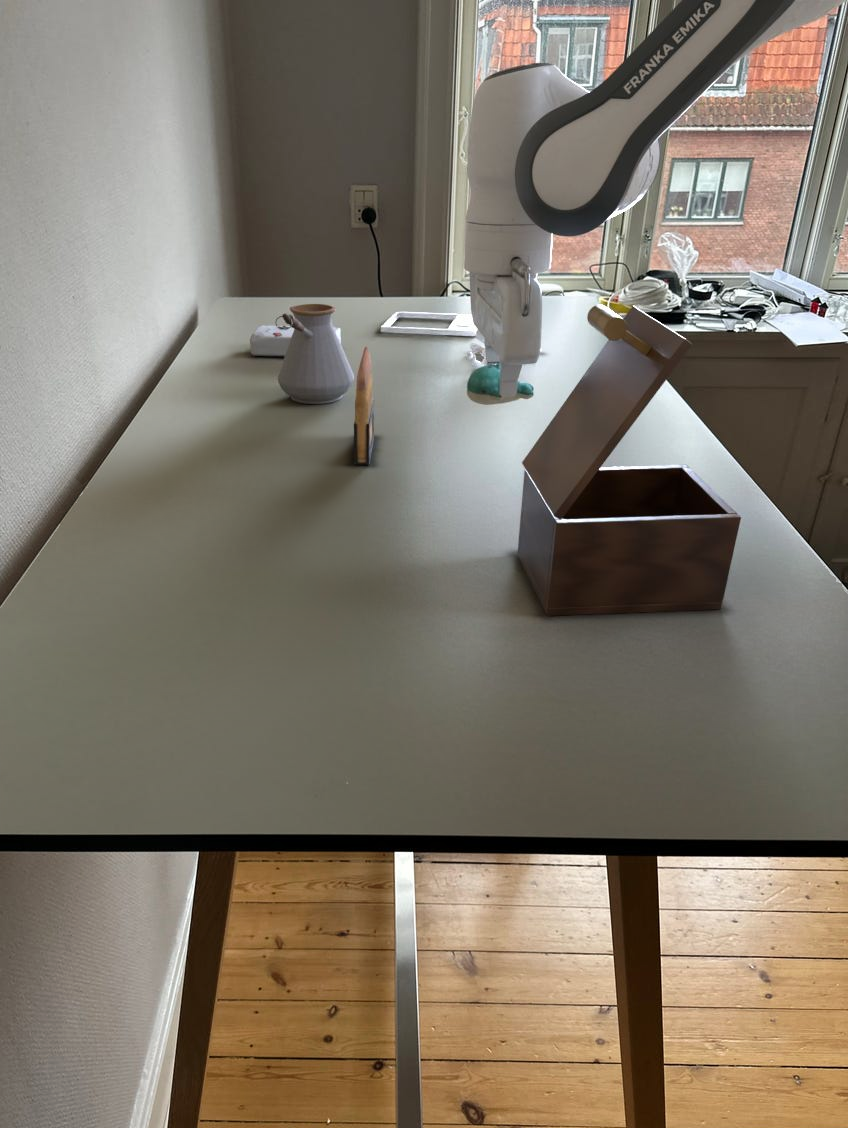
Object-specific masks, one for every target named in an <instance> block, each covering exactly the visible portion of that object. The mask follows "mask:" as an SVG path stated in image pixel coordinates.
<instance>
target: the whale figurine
mask: <svg viewBox="0 0 848 1128" xmlns="http://www.w3.org/2000/svg"><path fill="white" fill-rule="evenodd" d="M498 377H500V370H498V369H497V368H495V367H492V366H483V367H480V368H478V369H475V370H474V371H473V372H472V373H471V374H470V375H469V378H468V380H467V384H466V394H467V397H468V399H469V400H471V401H472V402H473V403H475V404H478V405H483V406H492V405H493V406H494V405H500V404H501V405H502V404H506V403H511V402H516V401H518V400H520V399H523V400H529V399H531V398H533V397H534V395H535V394H534V390H535V389H534V386H533V385H532V384H531V383H529V382H521V381H519V380H518V381H517V393H516V395H515V396H514V397H502V396H501V395H500V394H499V392H498Z"/></svg>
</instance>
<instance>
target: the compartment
mask: <svg viewBox="0 0 848 1128" xmlns="http://www.w3.org/2000/svg"><path fill="white" fill-rule="evenodd" d="M523 472H524V473H523V484H522V496H521V506H520V517H519V518H520V519H519V531H518V541H517V542H518V543H517V556H518V558H519V560H520V563H521V564H522V567H523V569H524V571H525V573H526V575H527V578H528V579H529V582H530V584H531V585H532V588H533V590H534V591H535V594H536V596H537V598H538V600H539V602H540V604H541V606H542V608H543V611H544V613H545V615H546V616H547V617H555V616H580V615H604V614H632V613H656V612H659V613H660V612H684V611H685V612H686V611H710V610H712V611H713V610H722V608H723V603H724V598H725V593H726V589H727V584H728V579H729V574H730V571H731V570H730V569H731V565H732V561H733V556H734V551H735V547H736V543H737V538H738V533H739V528H740V524H741V519H742V517H741V516H740V514H739V513H738V512H737V511H736V510H735V509H733V508H732V506H730V505H729V503H727V502H726V501H725V500H724V499H723V498H722V497H721V496H720V495H719V494H717V492H716V491H715V490H714V489H712V488H711V486H709V484H707V483H706V482H705V481H704V479H702V478H701V477H700V476H699V475H698V474H697V473H696V472H695V471H693V470H692V468H691V467H689V465H687V464H670V465H668V464H666V465H665V464H664V465H634V466H633V465H632V466H630V465H629V466H601V467H600V469H599V470H598V471H597V473H596V474H595V475H594V477H593V478H592V479H591V481H590V482H589V483H588V485H587V486H586V487H585V489H584V490H583V491H582V493H581V494H580V495H579V497H578V498H577V499H576V501H575V502H574V503H573V505H572V506H571V507H570V509H569V510H568V511H567V513H566V514H565V515H564V517H563V518H562V519H561V520H560V519H558V518H557V517H555V516H554V515H553V514H552V512H551V510H550V509H549V507H548V505H547V504H546V502H545V500H544V499H543V497H542V495H541V494H540V492H539V490H538V489H537V487H536V485H535V484H534V482H533V481H532V479H531V477H530V476H529V474H528V472H527V471H526V469H524V471H523Z"/></svg>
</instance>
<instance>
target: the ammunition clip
mask: <svg viewBox="0 0 848 1128" xmlns="http://www.w3.org/2000/svg"><path fill="white" fill-rule="evenodd" d="M356 375H357V376H356V389H355V390H356V391H355V400H354V423H353V465H356V466H359V465H361V466H370V463H371V457H372V452H373V447H374V440H375V401H374V383H373V375H372V362H371V355H370V350H369V348H368V346H365V347H364V348H363V352H362V356H361V359H360V363H359V367H358V370H357V374H356Z"/></svg>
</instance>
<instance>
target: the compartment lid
mask: <svg viewBox="0 0 848 1128" xmlns="http://www.w3.org/2000/svg"><path fill="white" fill-rule="evenodd" d="M586 318H587V322H588V324H589V325H590V326H591V327H592V328H594V330H596V331H597V332H599V333H600V334H601V335H602V336H604V337H605V338H606V339H607V341H606V342H605V344H604V346H603V347H602V348H601V350H600V351H599V353H598V354H597V356H596V357H595V359H594V360H593V361H592V363H591V364H590V365H589V367H587V369H586V371H585V373H584V374H583V375H582V377H581V378H580V379H579V381H578V382H577V384H576V385H575V387H574V388H573V389H572V390H571V392H570V394H569V395H568V396H567V398H566V400H565V401H564V402H563V403H562V405H561V407H560V408H559V409H558V411H557V413H556V414H555V415H554V417H553V418H552V419H551V420H550V422H549V423H548V425H547V426H546V427H545V429H544V430H543V432H542V433H541V434H540V436H539V438H538V439H537V440H536V442H535V443H534V445H532V447H531V449H530V450H529V451H528V453H527V455H526V456H525V457H524V459H523V460H522V462H521V464H522V465H523V468H524V470H526V471H527V472H528V474H529V476H530V477H531V479H532V481H533V482H534V484H535V485H536V487H537V489H538V490H539V492H540V494H541V495H542V497H543V499H544V500H545V502H546V504H547V505H548V507H549V509H550V510H551V512H552V514H553V515H554V516H555V517H557V518H558V519H560V520H561V519H562V518H563V517H564V515H565V514H566V513H567V511H568V510H569V509H570V507H571V506H572V505H573V503H574V502H575V501H576V499H577V498H578V497H579V495H580V494H581V493H582V491H583V490H584V489H585V487H586V486H587V485H588V483H589V482H590V481H591V479H592V478H593V477H594V475H595V474H596V473H597V471H598V470H599V469H600V467H603V465H604V463H605V462H606V461H607V459H608V458H609V457H610V456H611V454H612V453H613V452H614V451H615V448H617V446H618V445H619V443H620V442H621V441H622V440H623V438H624V437H625V436H626V434H627V433H628V431H629V430H630V429H631V428H632V426H633V425H634V423H635V422H636V421H637V420H638V418H639V417H640V415H641V414H642V413H643V412H644V410H645V409H646V408H647V406H648V405H649V403H650V402H651V401H652V399H653V398H654V397H655V396H656V394H657V393H658V391H659V390H660V389H661V387H662V386H663V385H664V383H665V382H666V381H667V380H668V379H669V377H670V376H671V375H672V373H673V372H674V370H675V369H676V368H677V366H678V365H679V363H680V362H681V361H682V360H683V358H684V357H685V356H686V354H687V353H688V352H689V350H690V349H691V347H692V346H693V343H692V342H691V341H689V340H688V339H687V338H685V337H684V336H682V335H680V334H679V333H677V332H676V331H674V330H672V329H671V328H669V327H668V326H666V325H665V324H663V323H661V322H660V321H658V320H657V319H655V318H653V317H652V316H650V315H649V314H647V313H645V312H644V311H642V310H641V309H640V308H637V307H636V306H635V305H632V306H631V308H630V309H629V310H628V312H627V313H626V314H625V316H624V318H623V317H622V316H620V315H619V314H617V313H615V312H614V311H613V310H611V309H610V308H609V307H607V306H606V305H603V304H595V305H593V306H592V307H591V308H590V309H589V311H588V312H587V317H586Z"/></svg>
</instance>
